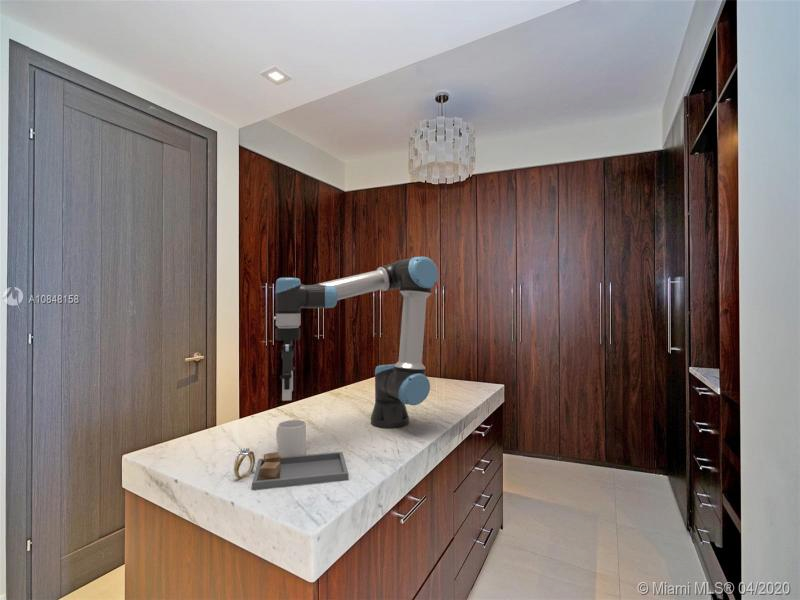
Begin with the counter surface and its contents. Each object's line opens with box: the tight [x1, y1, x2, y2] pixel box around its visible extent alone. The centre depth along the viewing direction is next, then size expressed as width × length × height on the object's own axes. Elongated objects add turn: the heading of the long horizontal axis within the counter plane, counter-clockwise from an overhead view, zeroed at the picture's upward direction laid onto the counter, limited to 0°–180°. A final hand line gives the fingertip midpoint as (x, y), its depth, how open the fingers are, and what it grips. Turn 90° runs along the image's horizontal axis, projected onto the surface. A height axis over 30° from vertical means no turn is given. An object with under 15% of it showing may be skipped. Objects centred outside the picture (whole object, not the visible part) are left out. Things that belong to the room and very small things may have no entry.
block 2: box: [260, 462, 280, 480], centre depth 106 cm, size 4×4×4 cm
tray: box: [251, 451, 349, 491], centre depth 111 cm, size 24×16×2 cm, turn 104°
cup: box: [275, 419, 307, 457], centre depth 125 cm, size 8×12×10 cm
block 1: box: [263, 451, 280, 463], centre depth 112 cm, size 4×4×4 cm
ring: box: [233, 447, 256, 480], centre depth 108 cm, size 7×3×8 cm, turn 156°
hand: (287, 395), depth 126 cm, fingers open, 13 cm apart
